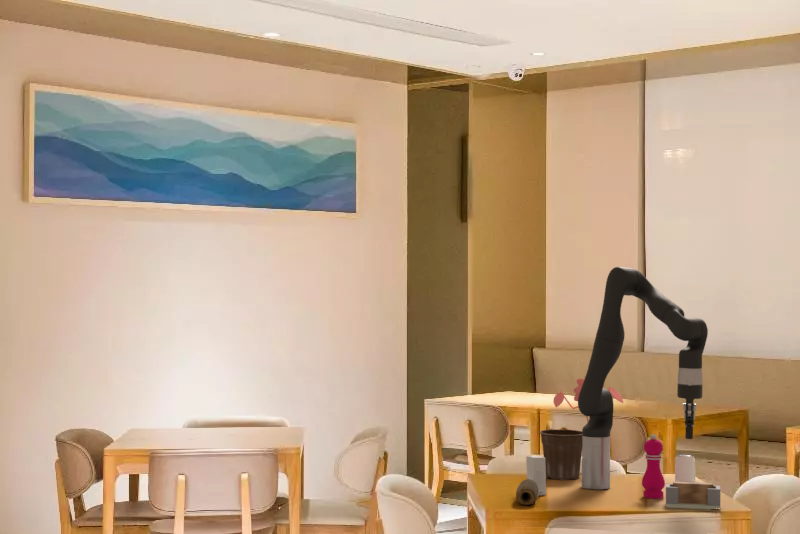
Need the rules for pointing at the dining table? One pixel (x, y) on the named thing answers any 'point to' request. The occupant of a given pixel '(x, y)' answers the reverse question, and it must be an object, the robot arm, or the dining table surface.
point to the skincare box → (537, 472)
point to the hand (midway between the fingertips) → (689, 438)
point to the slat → (692, 492)
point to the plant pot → (562, 453)
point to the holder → (673, 503)
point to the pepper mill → (653, 469)
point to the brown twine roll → (527, 492)
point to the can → (684, 468)
